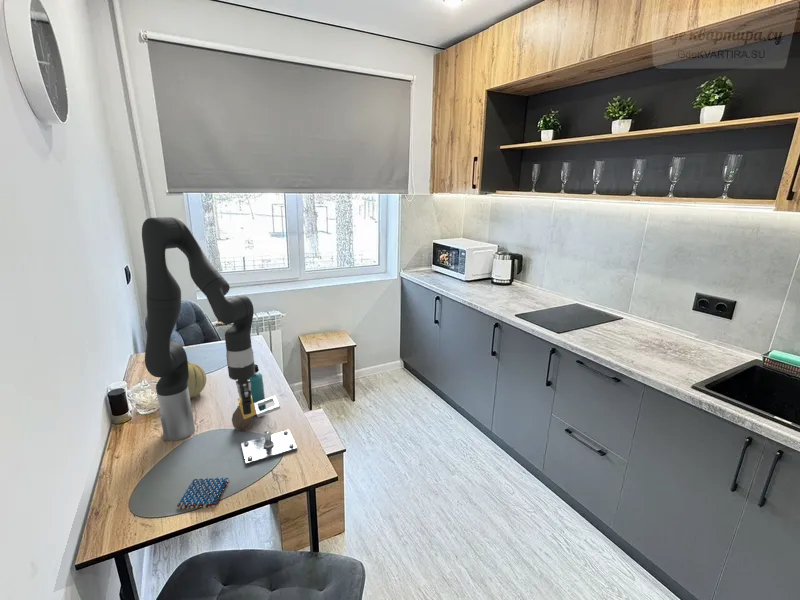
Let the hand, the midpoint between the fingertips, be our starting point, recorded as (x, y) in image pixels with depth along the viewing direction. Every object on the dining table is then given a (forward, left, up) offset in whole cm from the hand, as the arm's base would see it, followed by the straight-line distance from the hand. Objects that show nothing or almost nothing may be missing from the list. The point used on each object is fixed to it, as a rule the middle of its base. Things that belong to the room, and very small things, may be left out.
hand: (246, 410), depth 120 cm
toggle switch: (+5, 0, -16) cm, 17 cm away
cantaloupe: (-18, +49, -16) cm, 54 cm away
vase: (-1, +16, -16) cm, 23 cm away
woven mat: (-15, -12, -17) cm, 25 cm away
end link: (+4, 0, -1) cm, 4 cm away
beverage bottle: (+5, +23, -16) cm, 29 cm away
